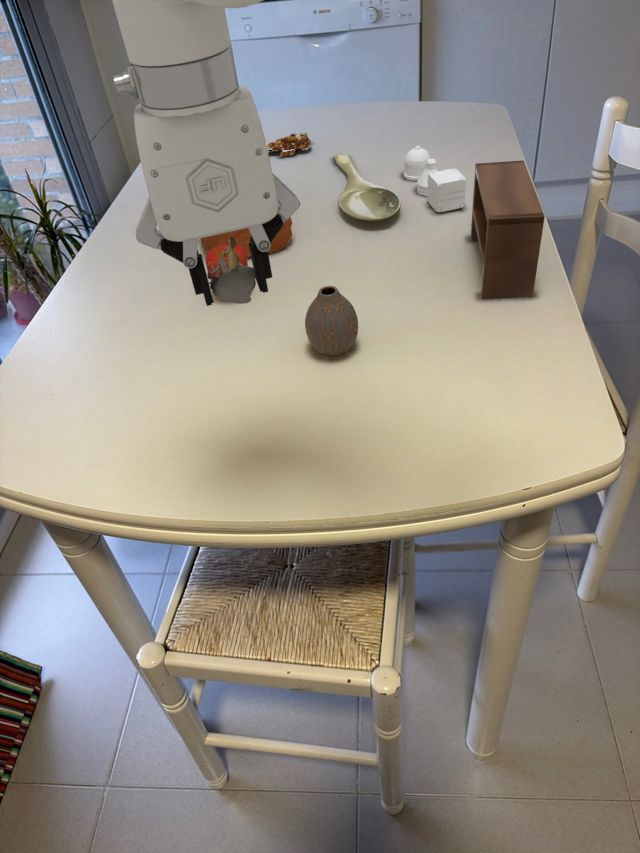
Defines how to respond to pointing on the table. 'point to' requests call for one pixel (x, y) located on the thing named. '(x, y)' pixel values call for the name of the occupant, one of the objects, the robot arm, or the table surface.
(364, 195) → the spoon
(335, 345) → the vase
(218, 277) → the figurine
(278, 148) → the pastry
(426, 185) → the container set
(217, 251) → the apple
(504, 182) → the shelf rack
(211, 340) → the table surface
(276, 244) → the bread
